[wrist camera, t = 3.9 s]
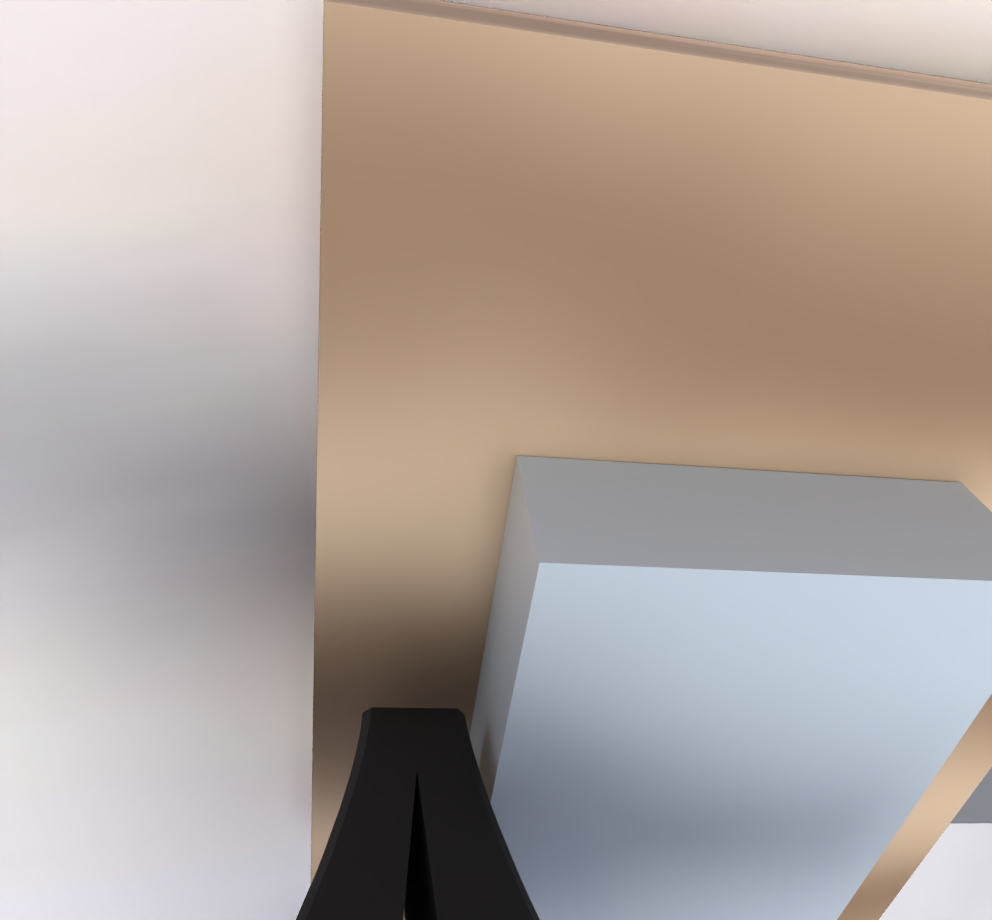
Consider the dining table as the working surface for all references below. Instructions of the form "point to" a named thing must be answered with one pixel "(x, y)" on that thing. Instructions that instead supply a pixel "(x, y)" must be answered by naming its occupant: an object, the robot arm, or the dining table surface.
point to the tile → (723, 681)
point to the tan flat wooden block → (619, 315)
